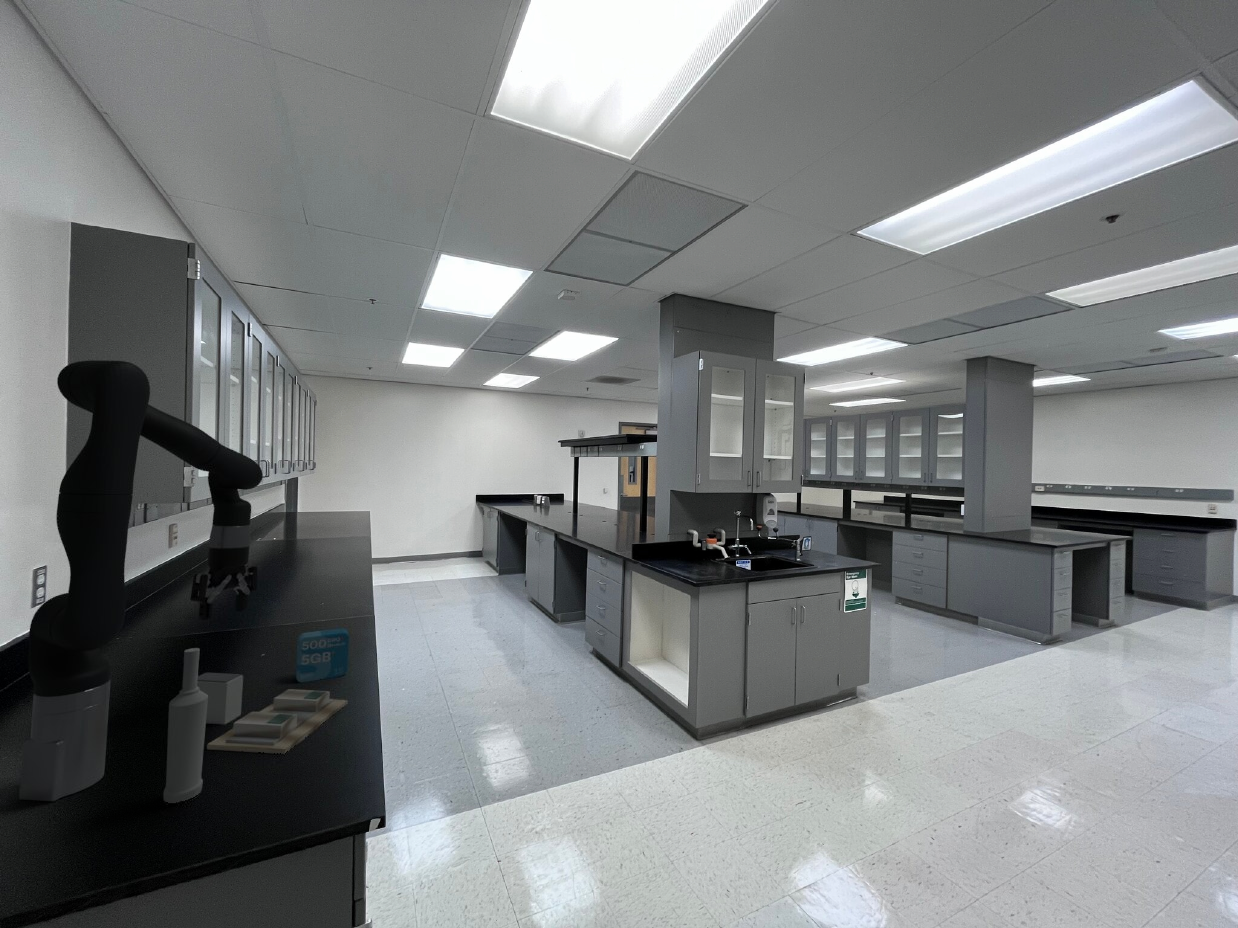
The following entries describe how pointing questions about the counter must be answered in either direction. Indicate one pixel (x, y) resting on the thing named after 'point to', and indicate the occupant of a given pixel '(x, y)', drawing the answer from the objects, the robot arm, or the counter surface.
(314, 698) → the rail board
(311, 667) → the data package
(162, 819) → the counter surface
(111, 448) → the robot arm
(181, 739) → the bottle
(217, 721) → the block
